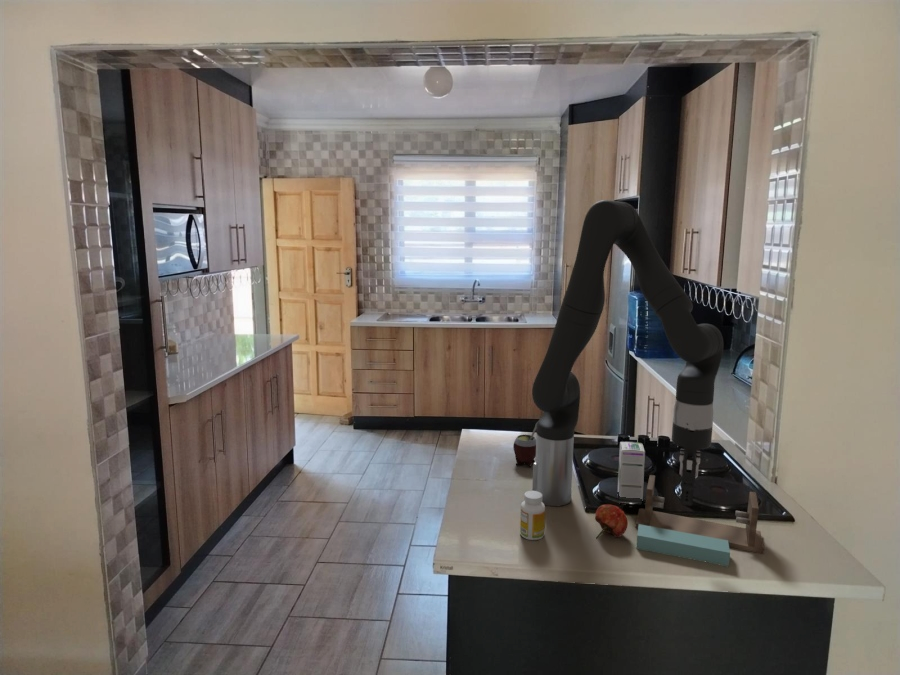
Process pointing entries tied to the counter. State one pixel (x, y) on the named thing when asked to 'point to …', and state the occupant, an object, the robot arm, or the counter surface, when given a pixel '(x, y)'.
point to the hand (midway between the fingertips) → (686, 495)
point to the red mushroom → (611, 519)
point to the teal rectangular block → (683, 544)
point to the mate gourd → (525, 449)
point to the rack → (705, 522)
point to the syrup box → (631, 470)
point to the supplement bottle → (532, 516)
